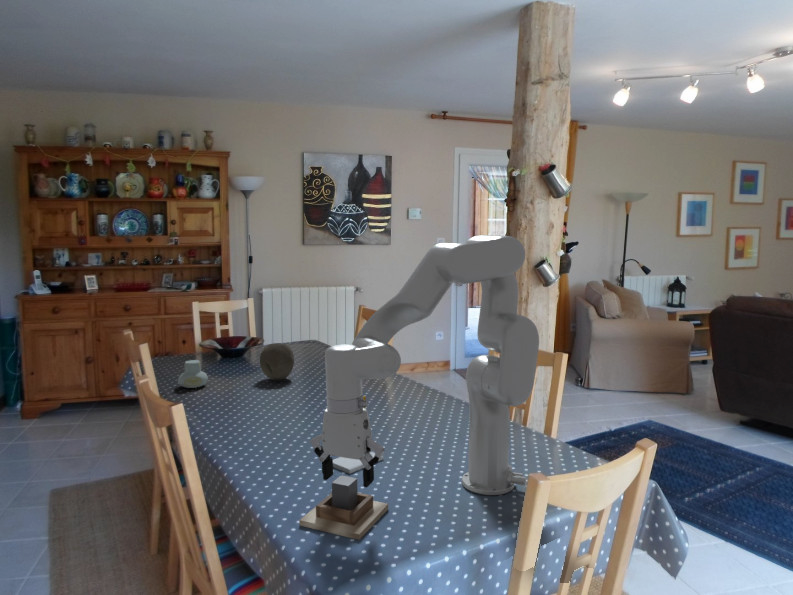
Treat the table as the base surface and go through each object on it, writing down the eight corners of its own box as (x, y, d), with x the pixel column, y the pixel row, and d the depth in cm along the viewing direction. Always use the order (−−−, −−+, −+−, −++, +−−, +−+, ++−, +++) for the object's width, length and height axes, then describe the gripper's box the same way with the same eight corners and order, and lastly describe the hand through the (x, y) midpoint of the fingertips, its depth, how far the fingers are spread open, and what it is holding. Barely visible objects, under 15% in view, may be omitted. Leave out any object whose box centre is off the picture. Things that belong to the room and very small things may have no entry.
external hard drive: (328, 466, 152) (362, 453, 161) (349, 475, 147) (383, 461, 156) (328, 460, 152) (362, 447, 161) (349, 469, 147) (383, 455, 156)
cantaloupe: (300, 380, 236) (300, 344, 234) (267, 386, 228) (266, 348, 226) (286, 373, 247) (285, 338, 245) (254, 378, 239) (253, 342, 238)
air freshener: (208, 382, 233) (207, 358, 232) (208, 388, 225) (207, 362, 224) (178, 385, 229) (177, 360, 228) (178, 390, 221) (177, 365, 220)
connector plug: (357, 509, 126) (357, 478, 125) (348, 517, 122) (348, 486, 121) (341, 505, 127) (341, 475, 126) (332, 514, 124) (331, 482, 123)
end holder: (388, 508, 128) (388, 492, 128) (359, 539, 116) (359, 522, 115) (333, 497, 134) (332, 481, 133) (299, 525, 121) (299, 508, 121)
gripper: (389, 402, 122) (392, 480, 124) (318, 394, 129) (322, 468, 131) (374, 413, 115) (376, 495, 117) (300, 404, 122) (304, 482, 124)
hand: (348, 481), depth 124 cm, fingers open, 9 cm apart
